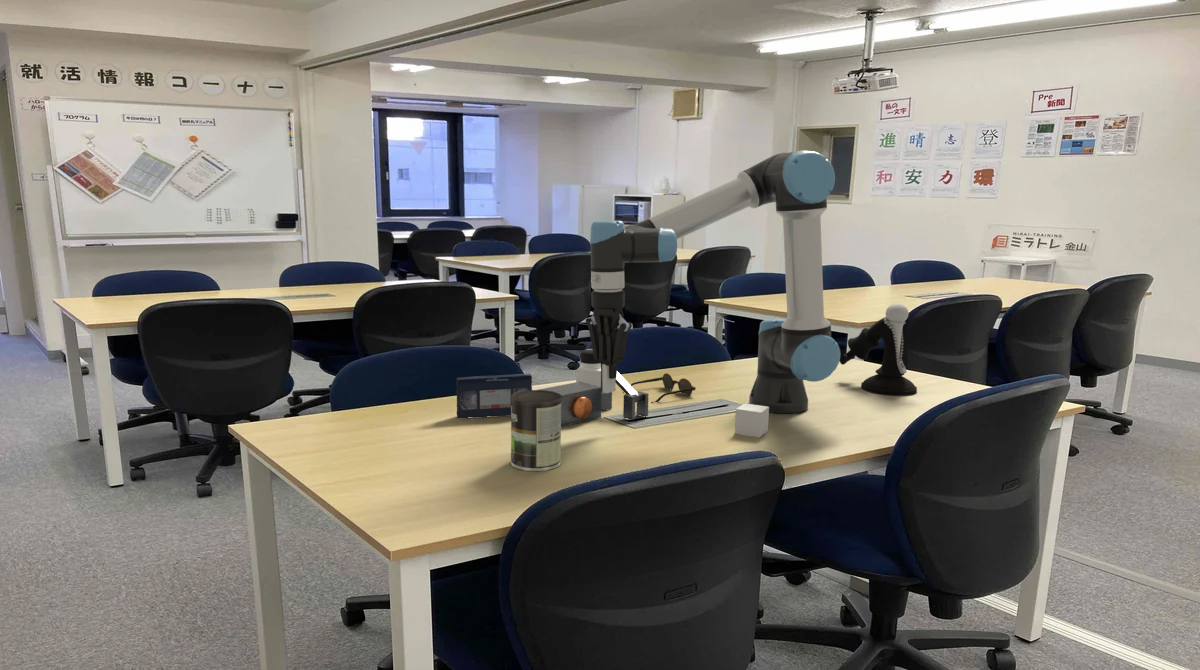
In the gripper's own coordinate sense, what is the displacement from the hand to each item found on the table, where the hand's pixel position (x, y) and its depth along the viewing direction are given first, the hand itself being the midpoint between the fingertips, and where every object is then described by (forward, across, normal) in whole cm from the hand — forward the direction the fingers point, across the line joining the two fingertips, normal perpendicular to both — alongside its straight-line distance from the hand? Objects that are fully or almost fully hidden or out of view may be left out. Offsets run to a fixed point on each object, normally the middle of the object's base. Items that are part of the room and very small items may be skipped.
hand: (609, 391), depth 188 cm
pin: (+8, -15, -1) cm, 17 cm away
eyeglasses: (+11, -16, +34) cm, 39 cm away
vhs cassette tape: (+9, -28, -13) cm, 32 cm away
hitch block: (+9, -14, -1) cm, 16 cm away
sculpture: (+12, +18, +90) cm, 93 cm away
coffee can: (+9, +8, -28) cm, 30 cm away
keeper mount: (+9, -9, +12) cm, 18 cm away
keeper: (+3, -8, +12) cm, 15 cm away
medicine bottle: (+10, -30, +21) cm, 38 cm away
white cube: (+11, +22, +24) cm, 35 cm away
